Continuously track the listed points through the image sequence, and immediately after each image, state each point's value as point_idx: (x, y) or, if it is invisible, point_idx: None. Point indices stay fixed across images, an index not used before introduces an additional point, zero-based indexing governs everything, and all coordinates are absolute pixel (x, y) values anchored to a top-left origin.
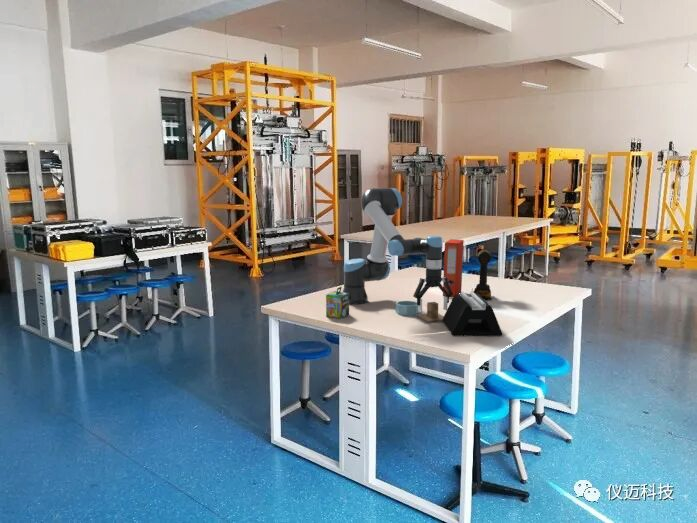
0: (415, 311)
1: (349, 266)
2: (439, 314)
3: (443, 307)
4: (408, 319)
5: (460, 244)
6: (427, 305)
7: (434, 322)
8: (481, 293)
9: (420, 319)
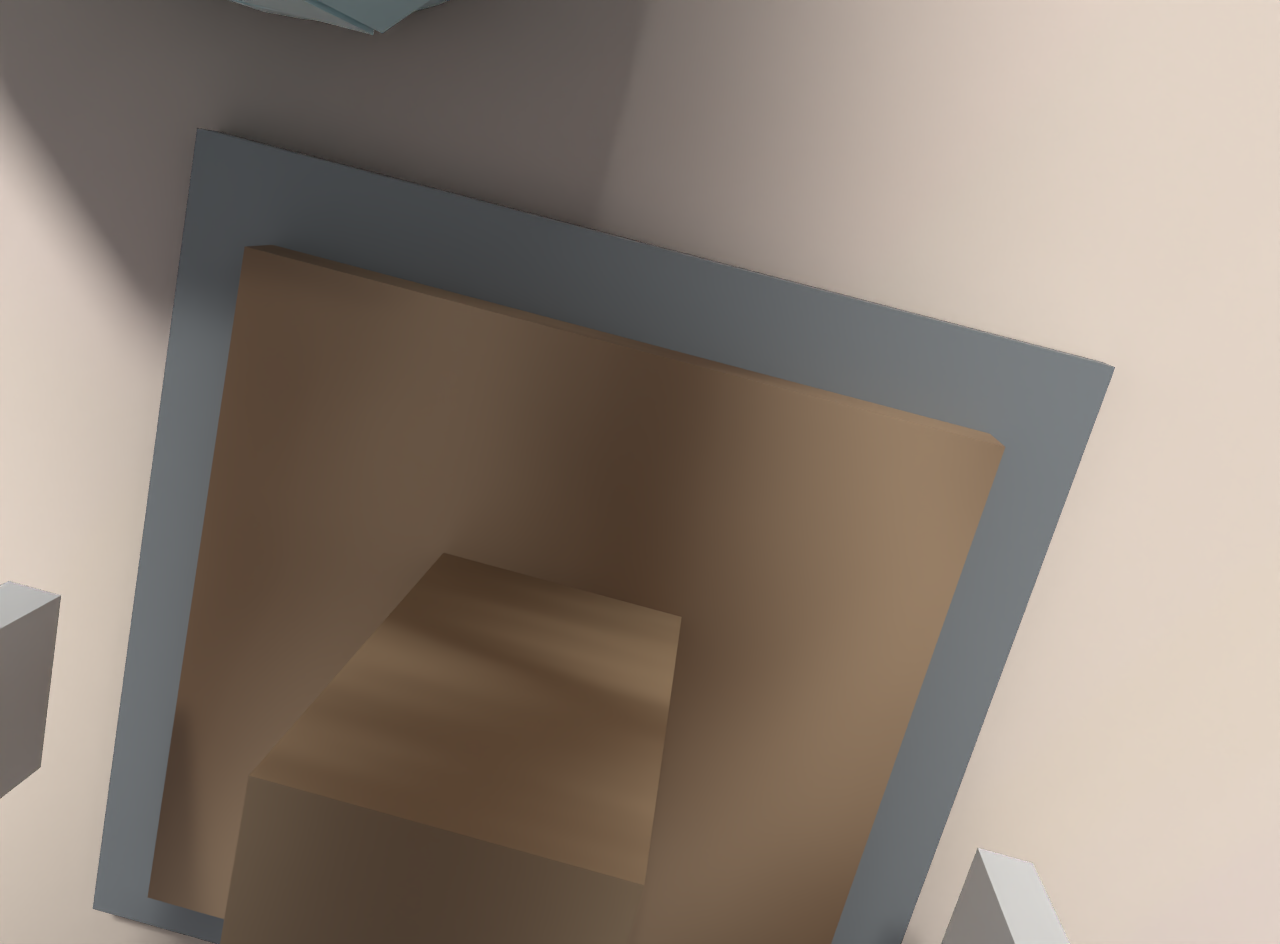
0: (337, 18)
1: None
2: (916, 599)
3: (991, 891)
4: (16, 253)
5: None
6: (305, 726)
7: None
8: None
9: None
